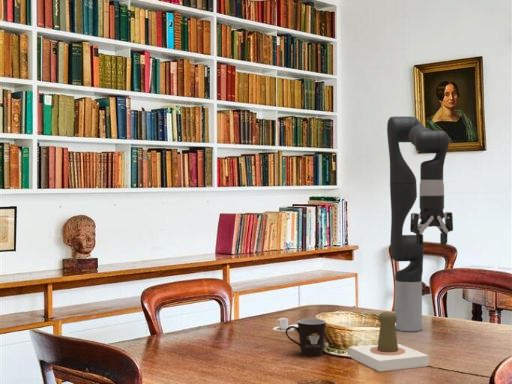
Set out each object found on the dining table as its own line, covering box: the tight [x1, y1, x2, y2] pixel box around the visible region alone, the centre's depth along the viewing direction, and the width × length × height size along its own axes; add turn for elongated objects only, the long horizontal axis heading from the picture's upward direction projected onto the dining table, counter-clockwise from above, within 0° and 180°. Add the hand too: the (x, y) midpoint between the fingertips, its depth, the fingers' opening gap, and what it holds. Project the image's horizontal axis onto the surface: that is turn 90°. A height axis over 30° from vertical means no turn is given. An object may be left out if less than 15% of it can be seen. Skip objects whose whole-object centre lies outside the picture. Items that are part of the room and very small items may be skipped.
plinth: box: [348, 342, 430, 373], centre depth 213 cm, size 18×16×3 cm
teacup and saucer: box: [272, 317, 298, 332], centre depth 259 cm, size 9×8×4 cm
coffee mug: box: [285, 318, 327, 358], centre depth 223 cm, size 12×9×10 cm
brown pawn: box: [377, 311, 399, 352], centre depth 213 cm, size 6×6×11 cm
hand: (431, 245), depth 230 cm, fingers open, 8 cm apart
